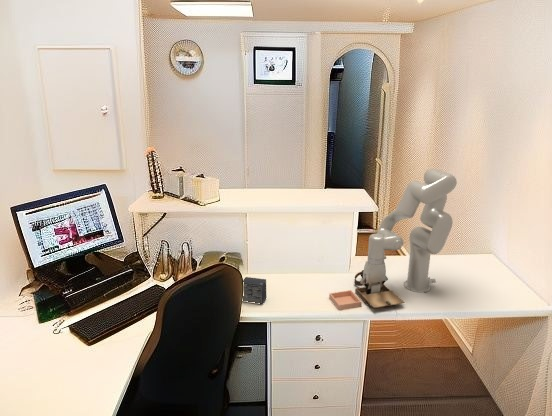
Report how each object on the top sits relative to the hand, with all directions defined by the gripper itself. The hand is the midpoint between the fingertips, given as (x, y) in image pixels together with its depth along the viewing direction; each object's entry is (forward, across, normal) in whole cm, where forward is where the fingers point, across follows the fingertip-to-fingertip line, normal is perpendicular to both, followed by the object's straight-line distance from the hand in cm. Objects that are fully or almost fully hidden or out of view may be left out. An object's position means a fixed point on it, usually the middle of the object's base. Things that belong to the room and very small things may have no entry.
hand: (373, 293), depth 205 cm
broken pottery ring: (+1, -1, -12) cm, 12 cm away
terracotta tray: (+1, +16, +2) cm, 16 cm away
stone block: (0, 0, 0) cm, 0 cm away
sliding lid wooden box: (+1, 0, +5) cm, 6 cm away
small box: (+1, +56, -12) cm, 57 cm away
